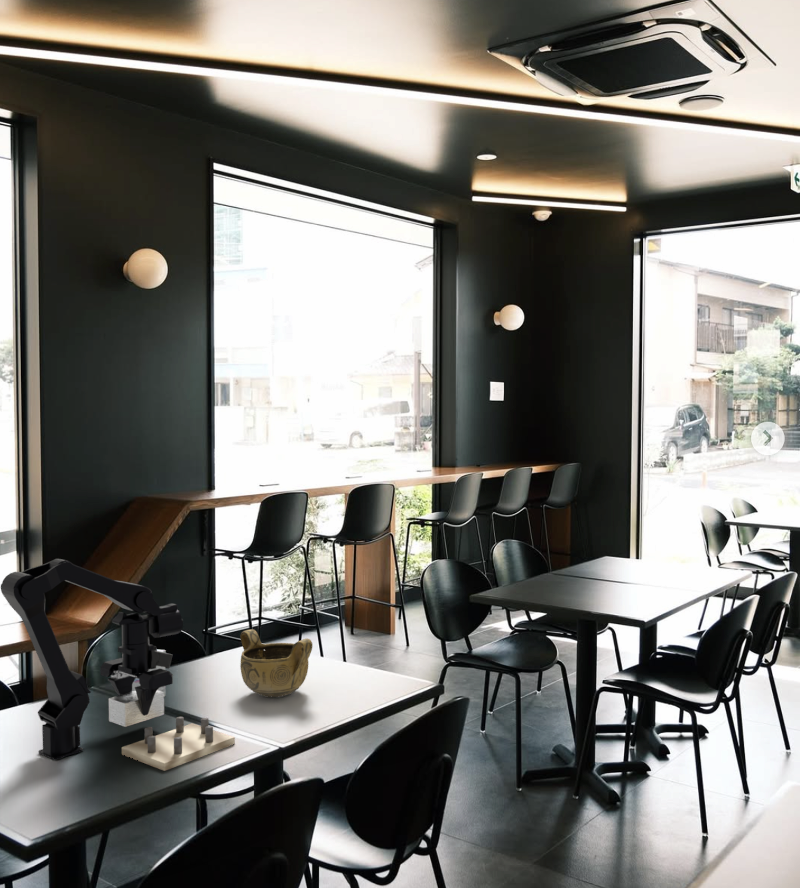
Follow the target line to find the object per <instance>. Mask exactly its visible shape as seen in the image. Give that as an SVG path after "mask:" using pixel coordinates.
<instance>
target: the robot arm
mask: <svg viewBox="0 0 800 888" xmlns="http://www.w3.org/2000/svg"><path fill="white" fill-rule="evenodd" d="M64 581H65V582H67V583H70V584H73V585H76V586H78V587H80V588H83V589H86V590H89V591H92V592H94V593H97V594H100V595H103V596H104V597H105V598H107V599H108V600H109V601H111V602H112V603H114V604H115V605H117V606H119V607H120V608H122V609H125V610H127V611H132V612H133V613H128V614H127V613H125V612H122V611H118V613H117V615H116V616H115V617H114V618H113V619H112V620H111V623H113V624H116V625H118V626H121V646H117V652H118V653H121V654H122V655H121V656H122V657H119V658H116V659H111V660H107V661H104V662H103V663H102V664H101V666H100V676H103V677H106V678H107V681H108V682H110V683H109V684H111V686H112V688H113V689H114V691H115V693H116V694H117V696H118V695H122V694H125V693H129V692H132V684H133V682H134V680H135V679H136V678H138V679H139V684H140V685H141V686H137V687H135V690H136V693H137V697H138V701H139V704H140V708H141V711H142V714H143V715H144V716H145V715H148V713H149V710H150V707H151V704H152V701H153V698H154V695H155V693H156V691H157V690H158V689H159V688H160V687H163V686H165V687H166V686H171V685H172V684H173V683H174V682H173V681H174V677H173V676H174V675H173V673H172V672H170V671H169V669H170V667H171V663H172V658H173V654H171V653H167V652H166V653H164V652H160V651H157V646H156V645H153V644H150V635H151V636H152V637H153V638H154V639H155V638H161V637H166V636H167V637H168V636H171V635H172V636H173V635H178V634H179V633H181V632H182V631H183V628H184V619H183V618H182V614H181V613H180V610H178V604H176V603H168V604H165V605H161V606H159V605H158V603H157V601H156V600H155V599H154V598H153V593H152V592H153V591H152V590H151V588H149V587H147V586H145V585H140V584H137V583H134V582H133V583H132V582H126V581H122V580H115V579H112V578H110V577H107V576H104V575H103V574H99V573H98V572H97V573H96V572H95V571H92V570H89V569H86V568H84V567H81V566H78V565H76V564H74V563H72V562H71V561H69V560H66V559H61V558H55V559H53V560H51V561H48V562H46V563H44V564H41V565H38V566H37V565H36V566H34V567H30V568H28V569H25V570H23V571H13V572H10V573H9V574H7V575H6V576H5V577H4V579H3V580H2V581H1V582H2V583H1V584H0V591H1V593H2V595H3V597H4V598H5V600H6V601H7V603H8V605H9V606H10V607H11V608H12V609H13V610H14V612H16V614H17V615H18V616H19V617H20V619H21V620H22V622H23V624H24V627H25V629H26V632H27V633H28V636H29V638H30V641H31V643H32V645H33V648H34V650H35V652H36V654H37V658H38V660H39V662H40V664H41V666H42V667H41V668H42V669H43V671H44V674H45V675H46V693H47V697H48V699H47V700H46V701H45V702H44V703H43V704H42V705H41V707H40V709H39V710H38V711H37V716H38V718H39V719H40V721H41V722H44V723H45V724H42V726H41V727H42V730H41V731H42V735H41V736H42V749H39V750H38V754H39V755H42V756H44V757H47V758H48V759H50V760H55V761H56V760H59V759H63V758H66V757H68V756H71V755H74V754H77V753H81V752H83V751H84V748H83V747H81V726H80V725H81V722H82V720H83V716H84V714H85V713H84V712H86V709H88V705H89V704H90V695H89V694H91V692H92V691H91V690H89V689H88V687H87V684H86V678H85V677H84V675H83V674H81V673H77V672H75V671H73V670H70V668H69V666H68V663H67V660H66V658H65V657H64V654H63V652H62V649H61V647H60V645H59V641H58V640H57V637H56V634H55V633H54V630H53V628H52V626H51V623H50V621H49V619H48V616H47V614H46V595H45V593H47V592H49V591H51V590H53V589H54V588H55V587H56V586H58V585H59V584H61V583H63V582H64ZM140 613H141V614H142V613H145V614H143V615H141V614H140ZM156 666H162V667H165V670H163V669H156V670H153V671H149V669H155V668H156ZM166 669H167V670H166ZM148 671H149V672H148Z"/></svg>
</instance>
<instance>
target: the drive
mask: <svg viewBox="0 0 800 888" xmlns="http://www.w3.org/2000/svg"><path fill="white" fill-rule="evenodd" d="M163 715H165V696H164V692H162V691H158V690H157V691H156V693H155V695H154V698H153V701H152V704H151V707H150V710H149V713H148V715H145V716H144V715H143V714H142V711H141V708H140V704H139V701H138V697H137V693H136V691H132V692H129V693H125V694H122V695H118V694H117V695H115V696H111V697H109V698H108V722H110V723H114V724H116V725H119V726H122V727H123V728H124V727H125V728H126V727H129V726H133V725H135V724H139V723H142V722H145V721H148V720H151V719H154V718H158V717H160V716H163Z"/></svg>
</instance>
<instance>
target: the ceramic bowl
mask: <svg viewBox="0 0 800 888" xmlns="http://www.w3.org/2000/svg"><path fill="white" fill-rule="evenodd" d="M239 637H240V643H241V644H242V645H241V646H242V649H243V651H242V652H241V656H240V663H239V664H240V665H239V666H240V675H241V677H242V680H243V683H244V684H245V686H246V687H247V688H248V689H249V690H250V691H252V692H253V693H255V694H257V695H260V696H261V697H265V698H270V699H271V698H272V699H273V698H275V699H277V698H282V697H283V698H284V697H286V696H288V695H291V694H293V693H294V692H296V691H297V690H298V689H299V688H301V686H302V685H303V683H305V680H306V679H307V675H308V671H309V658H310V656H311V653H312V651H313V642H312V639H310V638H307V637H306V638H303V639H301V640H298V641H296V642H295V643H292V642H273V643H272V642H271V643H263V642H261V639H260V636H259V633H258V632H257V631H256V630H255V629H246V630H243V631H242V632H241V633H240V636H239ZM276 697H277V698H276Z"/></svg>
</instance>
